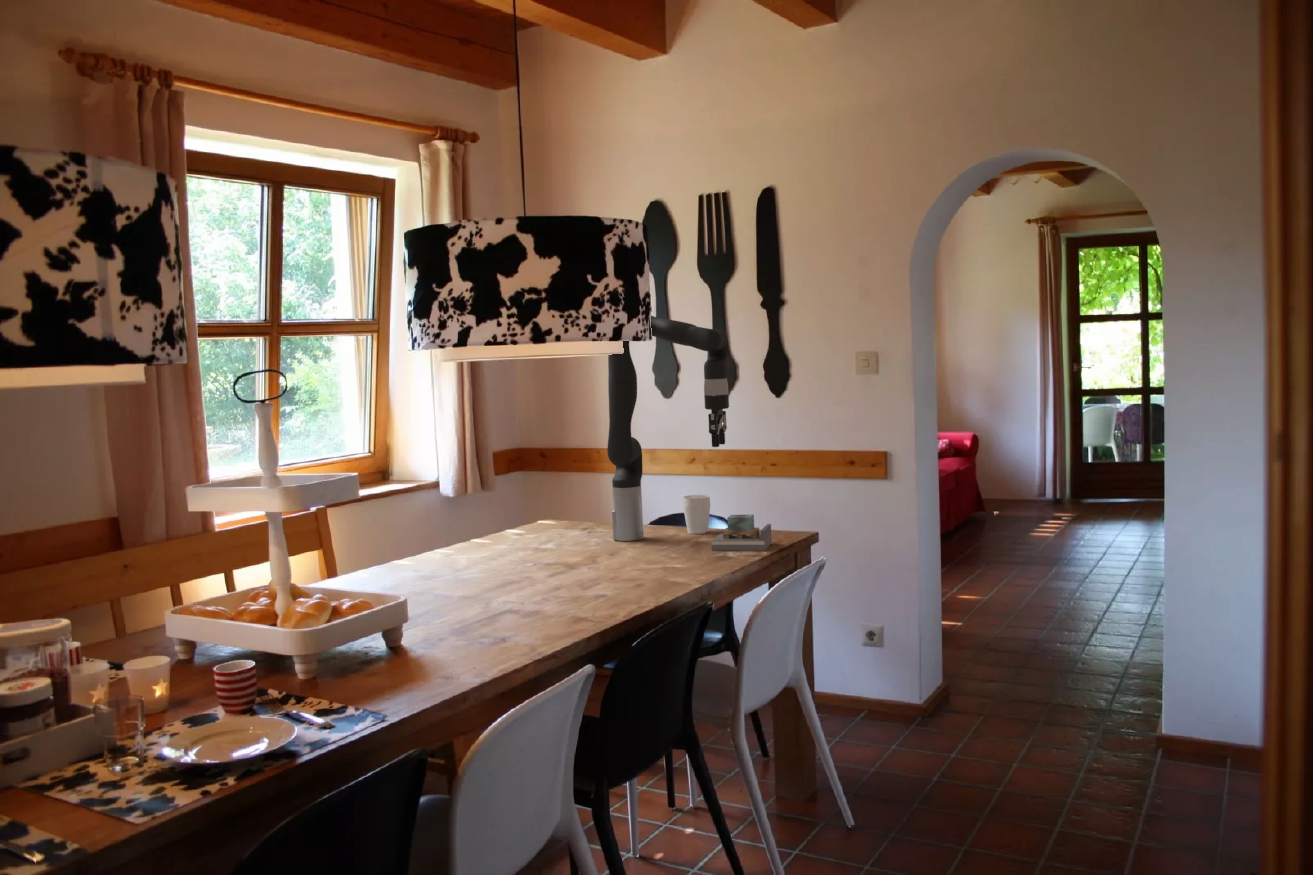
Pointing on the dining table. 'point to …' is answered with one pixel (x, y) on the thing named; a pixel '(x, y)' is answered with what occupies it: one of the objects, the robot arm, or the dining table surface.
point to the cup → (696, 513)
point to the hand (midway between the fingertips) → (718, 445)
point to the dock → (743, 542)
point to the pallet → (741, 533)
